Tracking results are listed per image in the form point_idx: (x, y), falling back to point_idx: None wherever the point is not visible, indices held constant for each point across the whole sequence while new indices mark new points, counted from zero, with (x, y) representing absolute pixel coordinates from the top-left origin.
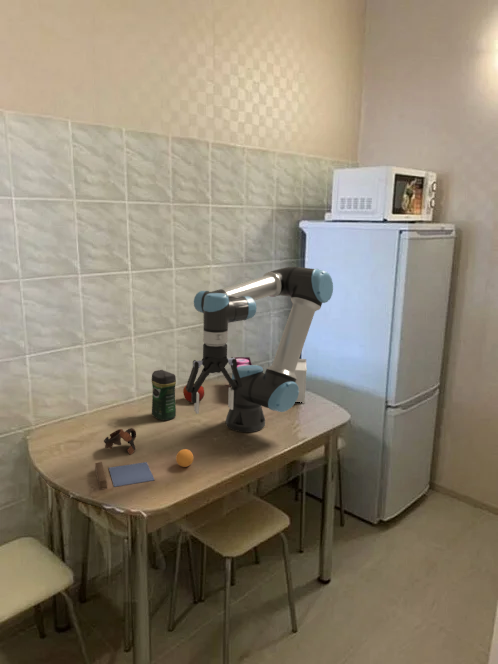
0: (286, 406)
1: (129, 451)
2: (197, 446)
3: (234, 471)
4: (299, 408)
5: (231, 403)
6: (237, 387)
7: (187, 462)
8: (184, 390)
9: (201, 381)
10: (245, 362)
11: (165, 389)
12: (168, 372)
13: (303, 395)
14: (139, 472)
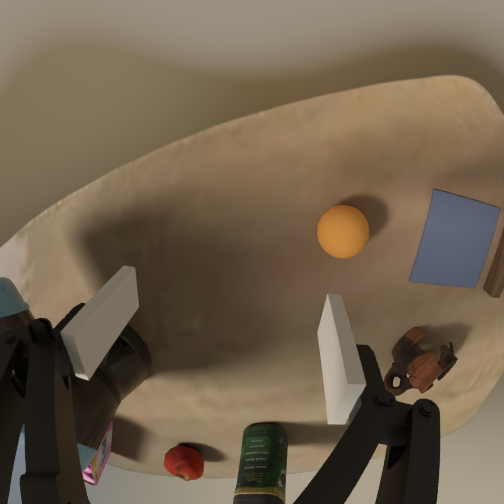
0: None
1: (419, 332)
2: (256, 308)
3: (219, 132)
4: None
5: (116, 284)
6: (33, 342)
7: (346, 205)
8: (201, 472)
9: (337, 481)
10: None
11: (266, 483)
12: None
13: None
14: (445, 240)
